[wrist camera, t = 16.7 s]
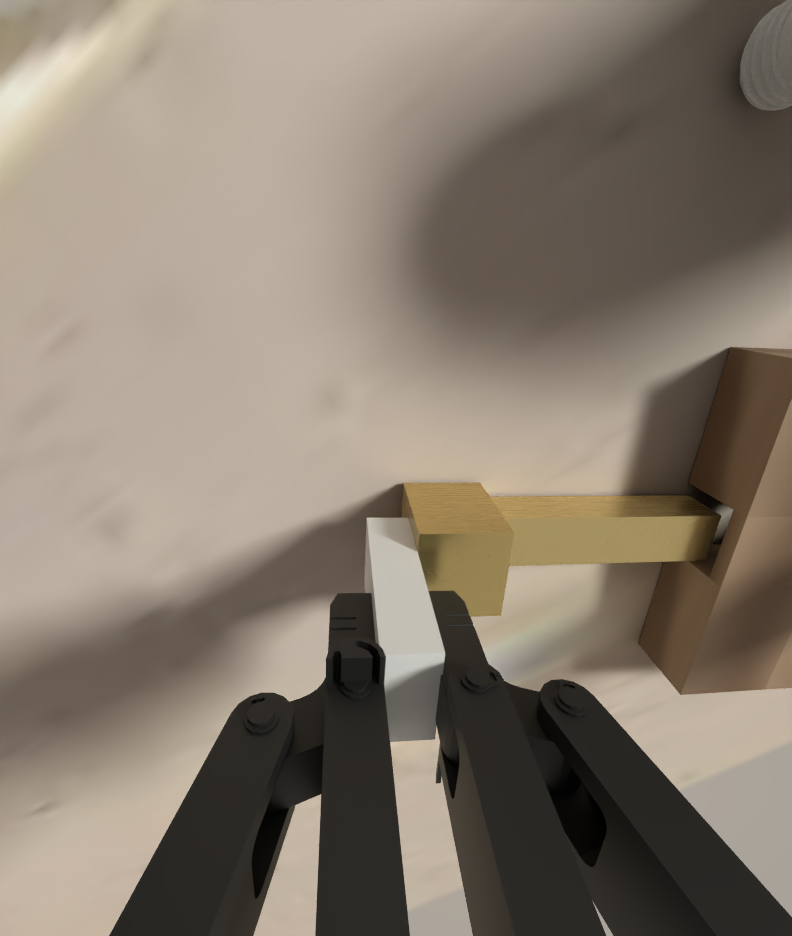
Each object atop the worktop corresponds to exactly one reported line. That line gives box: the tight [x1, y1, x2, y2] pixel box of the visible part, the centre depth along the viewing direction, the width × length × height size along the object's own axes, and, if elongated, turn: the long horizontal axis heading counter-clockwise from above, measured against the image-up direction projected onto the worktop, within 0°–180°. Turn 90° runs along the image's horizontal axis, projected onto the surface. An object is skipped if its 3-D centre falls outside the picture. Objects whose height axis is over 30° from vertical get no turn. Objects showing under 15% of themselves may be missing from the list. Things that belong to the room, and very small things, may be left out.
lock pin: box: [401, 483, 721, 617], centre depth 17 cm, size 12×3×4 cm, turn 87°
